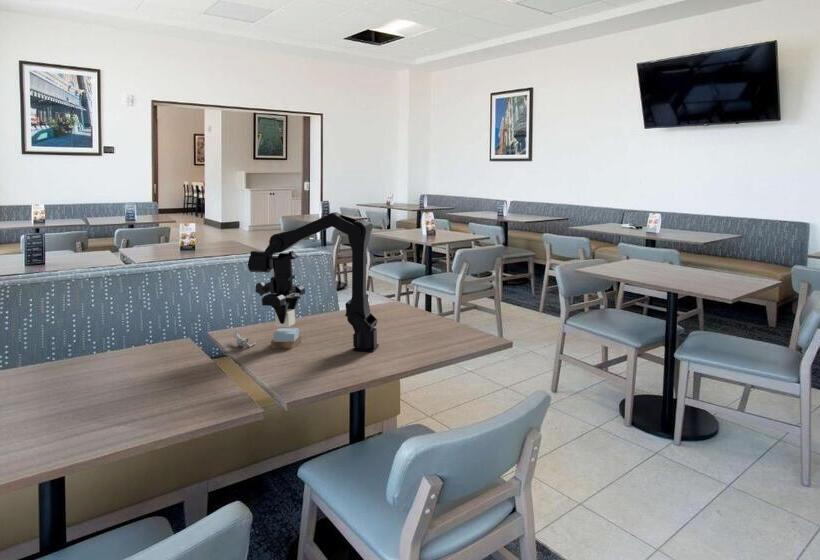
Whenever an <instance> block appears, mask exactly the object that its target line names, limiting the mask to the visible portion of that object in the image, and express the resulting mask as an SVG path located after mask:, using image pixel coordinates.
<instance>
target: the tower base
mask: <svg viewBox="0 0 820 560" xmlns="http://www.w3.org/2000/svg"><path fill="white" fill-rule="evenodd" d="M301 343H302V336H300V335H299V336H298V338H297V339H296V340H295V342H274V339H272V340H270V347H271V348H273V347H277V349H286V348H288V349H289V350H292V349H294V348H295V347H297V346H299V344H301Z"/></svg>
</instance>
